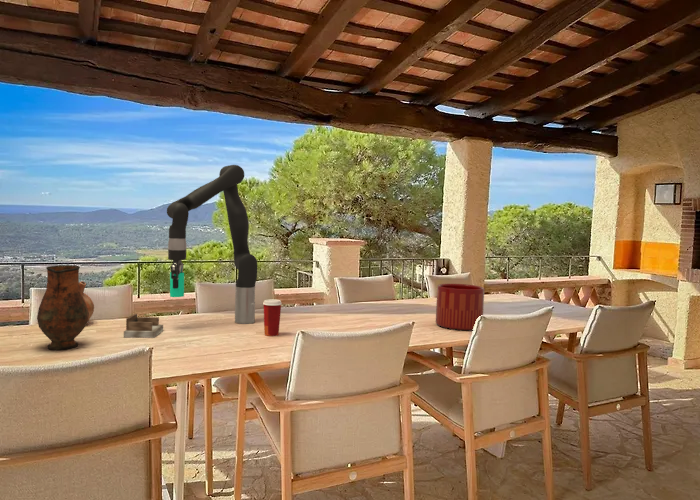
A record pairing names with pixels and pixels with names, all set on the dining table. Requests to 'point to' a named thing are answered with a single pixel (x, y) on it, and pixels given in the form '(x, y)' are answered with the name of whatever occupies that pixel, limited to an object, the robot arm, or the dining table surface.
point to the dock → (142, 327)
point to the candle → (180, 290)
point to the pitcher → (62, 308)
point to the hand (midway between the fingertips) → (177, 287)
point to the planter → (459, 305)
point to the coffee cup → (272, 317)
